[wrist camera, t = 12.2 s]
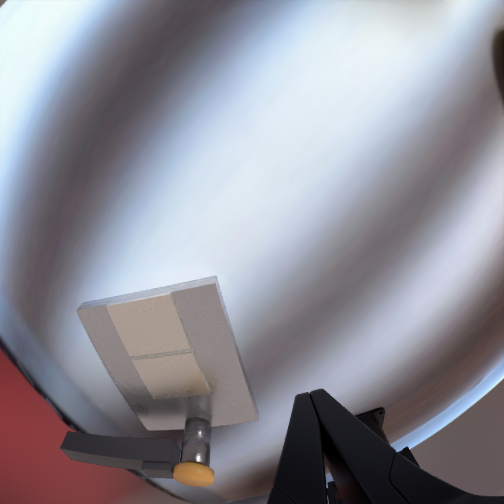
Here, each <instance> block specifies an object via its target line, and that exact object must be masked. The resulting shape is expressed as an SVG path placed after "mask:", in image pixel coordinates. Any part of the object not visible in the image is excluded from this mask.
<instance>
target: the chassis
mask: <svg viewBox="0 0 504 504" xmlns="http://www.w3.org/2000/svg"><path fill="white" fill-rule="evenodd" d="M77 312H78V315H79V317H80V319H81V321H82V323H83V325H84V327H85V329H86V331H87V333H88V335H89V337H90V339H91V341H92V343H93V345H94V347H95V349H96V351H97V352H98V354H99V356H100V358H101V360H102V361H103V363H104V365H105V367H106V368H107V370H108V372H109V374H110V375H111V377H112V379H113V380H114V382H115V383H116V385H117V387H118V388H119V390H120V391H121V393H122V395H123V396H124V398H125V399H126V401H127V402H128V404H129V405H130V407H131V408H132V410H133V411H134V413H135V414H136V415H137V417H138V418H139V420H140V421H141V422H142V424H143V425H144V426H145V428H146V429H147V430H177V429H184V435H183V442H182V450H181V457H180V463H198V464H202V465H205V466H208V467H209V464H210V442H211V427H215V426H223V425H231V424H239V423H245V422H252V421H258V420H259V418H258V410H257V407H256V404H255V401H254V398H253V395H252V392H251V389H250V386H249V383H248V380H247V376H246V373H245V370H244V367H243V364H242V361H241V357H240V354H239V351H238V348H237V344H236V341H235V338H234V335H233V331H232V328H231V325H230V321H229V318H228V314H227V311H226V308H225V304H224V301H223V297H222V294H221V290H220V287H219V283H218V279H217V276H212V277H208V278H203V279H198V280H194V281H189V282H184V283H179V284H174V285H170V286H165V287H160V288H155V289H150V290H145V291H140V292H135V293H130V294H125V295H120V296H115V297H110V298H105V299H100V300H95V301H90V302H85V303H82V304H81V306H80V307H79V308H78V309H77Z"/></svg>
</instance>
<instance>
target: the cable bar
mask: <svg viewBox="0 0 504 504" xmlns="http://www.w3.org/2000/svg"><path fill="white" fill-rule="evenodd" d="M60 449H61V450H62V451H63V452H64V453H65V454H66V455H67V456H68V457H69V458H70V459H71V460H76V461H80V462H85V463H91V464H96V465H102V466H109V467H116V468H124V469H134V470H143V471H144V472H145V473H146V474H147V475H148V476H149V477H152V478H171V479H175V480H176V481H178V482H180V483H182V484H185V485H189V486H196V487H203V486H208V485H211V484H213V483H214V471H213V470H212V469H211V468H210V467H208V466H205V465H202V464H198V463H180V464H179V460H180V452H181V450H180V448H179V447H178V446H177V444H176V443H175V441H174V440H173V439H147V438H124V437H111V436H100V435H91V434H84V433H77V432H70V431H68V432H67V434H66V436H65V439H64V441H63V443H62V445H61V447H60Z"/></svg>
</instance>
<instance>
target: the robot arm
mask: <svg viewBox="0 0 504 504" xmlns="http://www.w3.org/2000/svg"><path fill="white" fill-rule="evenodd" d="M384 415H385V409H384V408H383V407H381V408H378V409H376V410H373V411H370V412H367V413H364V414H361V415H358V416H354V415H353V414H352V413H350V412H349V411H348V410H347V409H346V408H345V407H343V406H342V405H341V404H340V403H339V402H338V401H337V400H335V399H334V398H333V397H332V396H331V395H330V394H329V393H327V392H326V391H325V390H324V389H318V390H314V391H311V392H310V394H309V393H308V392H306V393H302V394H298V395H296V396H295V400H294V405H293V409H292V413H291V418H290V422H289V426H288V430H287V434H286V438H285V442H284V446H283V450H282V453H281V457H280V461H279V465H278V468H277V472H276V475H275V479H274V482H273V487H272V488H271V492H270V495H269V498H268V501H267V504H328V500H327V495H328V499H329V504H504V496H481V495H474V494H471V493H468V492H465V491H463V490H461V489H459V488H457V487H455V486H452V485H451V484H449V483H447V482H444V481H443V480H441V479H439V478H437V477H435V476H433V475H431V474H429V473H428V472H426V471H424V470H423V469H421V468H420V466H419V465H418V463H417V461H416V460H415V458H414V456H413V455H412V453H411V451H410V450H409V448H408V446H407V447H405V448H403V450H401V451H400V452H396V450H395V449H394V448H392V447H391V446H390V444H389V442H388V440H387V437H386V435H385V433H384V431H383V429H382V426H383V421H384ZM323 455H324V456H323ZM324 458H325V460H326V463H327V465H328V468H329V470H330V472H331V475H332V477H333V480H334V481H331V482H328V483H327V484H328V488H326V477H325V466H324Z"/></svg>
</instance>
